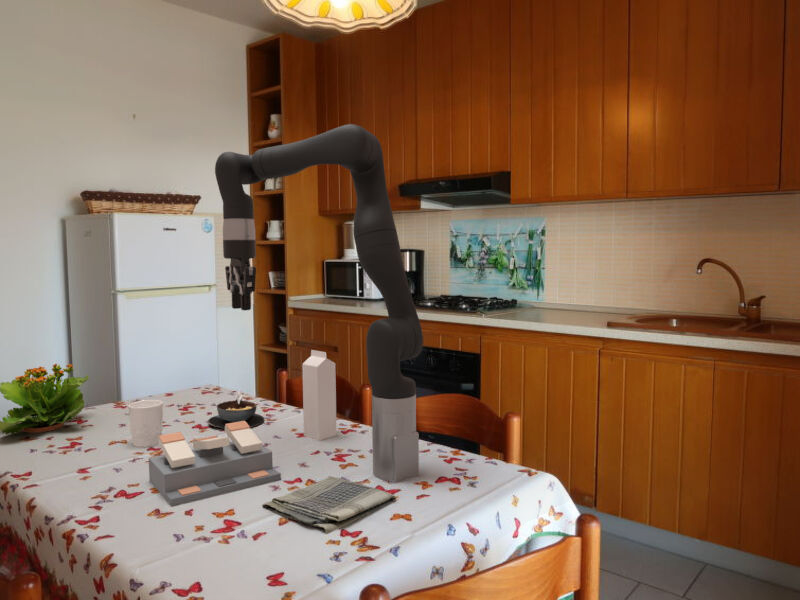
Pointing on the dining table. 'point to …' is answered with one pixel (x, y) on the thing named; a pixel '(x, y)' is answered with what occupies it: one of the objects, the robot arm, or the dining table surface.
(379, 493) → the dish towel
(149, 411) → the white cup
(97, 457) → the dining table surface
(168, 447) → the rocker
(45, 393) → the potted flower
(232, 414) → the soup bowl
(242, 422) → the block
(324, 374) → the milk
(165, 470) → the switch unit
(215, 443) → the rocker
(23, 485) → the dining table surface
